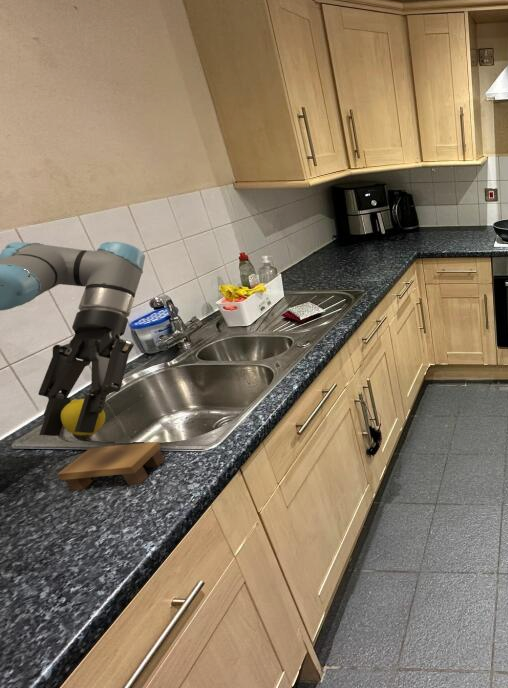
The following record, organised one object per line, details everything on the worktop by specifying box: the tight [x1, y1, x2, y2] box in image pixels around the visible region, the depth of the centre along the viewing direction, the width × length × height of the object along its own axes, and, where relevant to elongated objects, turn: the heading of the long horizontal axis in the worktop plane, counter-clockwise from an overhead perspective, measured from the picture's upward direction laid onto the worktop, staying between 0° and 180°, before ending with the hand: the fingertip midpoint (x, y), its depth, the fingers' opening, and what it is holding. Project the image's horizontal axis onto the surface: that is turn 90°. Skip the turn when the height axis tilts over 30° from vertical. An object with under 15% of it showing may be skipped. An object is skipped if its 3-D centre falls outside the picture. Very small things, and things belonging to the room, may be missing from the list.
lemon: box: [61, 398, 106, 436], centre depth 77 cm, size 6×6×8 cm
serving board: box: [56, 441, 166, 491], centre depth 82 cm, size 14×7×5 cm, turn 93°
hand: (66, 433), depth 73 cm, fingers closed on lemon, 5 cm apart
